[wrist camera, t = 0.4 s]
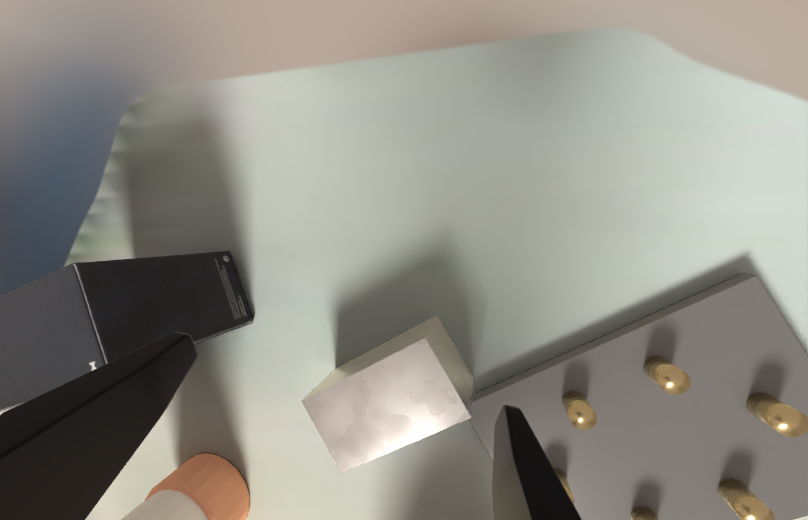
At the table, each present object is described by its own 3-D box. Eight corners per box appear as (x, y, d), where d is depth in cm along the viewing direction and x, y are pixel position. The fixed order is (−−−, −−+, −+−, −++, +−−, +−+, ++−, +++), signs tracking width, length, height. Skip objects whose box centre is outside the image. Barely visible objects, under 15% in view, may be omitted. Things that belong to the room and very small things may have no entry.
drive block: (473, 377, 23) (471, 417, 18) (369, 425, 25) (341, 472, 20) (437, 314, 23) (425, 337, 18) (336, 367, 25) (301, 401, 20)
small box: (230, 244, 26) (70, 255, 16) (257, 322, 26) (115, 382, 16) (135, 282, 29) (-55, 313, 19) (160, 353, 29) (-15, 421, 19)
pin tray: (871, 477, 18) (940, 522, 15) (559, 566, 22) (570, 612, 20) (742, 273, 18) (787, 281, 16) (462, 399, 23) (459, 422, 20)
